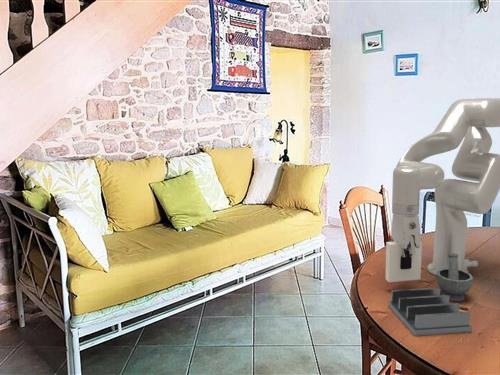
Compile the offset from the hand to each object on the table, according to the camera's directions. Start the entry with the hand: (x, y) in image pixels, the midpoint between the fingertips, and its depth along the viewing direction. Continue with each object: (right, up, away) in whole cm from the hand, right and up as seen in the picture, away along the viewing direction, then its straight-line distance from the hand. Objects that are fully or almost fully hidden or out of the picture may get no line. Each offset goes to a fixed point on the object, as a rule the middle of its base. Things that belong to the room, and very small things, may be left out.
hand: (403, 266), depth 134 cm
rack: (+1, -11, -15) cm, 19 cm away
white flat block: (0, -4, +1) cm, 4 cm away
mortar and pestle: (+14, -9, -2) cm, 16 cm away
